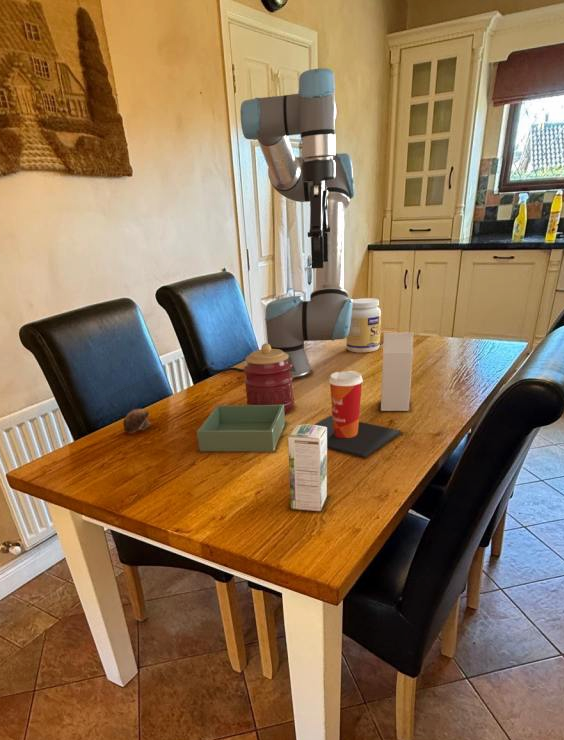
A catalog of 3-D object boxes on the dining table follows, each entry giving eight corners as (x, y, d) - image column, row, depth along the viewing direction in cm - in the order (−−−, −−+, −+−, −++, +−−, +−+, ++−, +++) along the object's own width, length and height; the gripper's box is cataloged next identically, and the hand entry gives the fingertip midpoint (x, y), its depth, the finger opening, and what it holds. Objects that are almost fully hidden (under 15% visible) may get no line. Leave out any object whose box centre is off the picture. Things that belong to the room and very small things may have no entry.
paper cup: (326, 429, 125) (325, 371, 117) (358, 425, 125) (359, 368, 118) (332, 441, 118) (332, 381, 111) (365, 438, 118) (367, 378, 111)
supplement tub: (371, 354, 182) (373, 304, 174) (340, 352, 188) (340, 303, 180) (385, 346, 191) (387, 297, 182) (355, 344, 197) (355, 297, 188)
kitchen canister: (301, 403, 144) (298, 338, 135) (282, 419, 134) (278, 350, 125) (260, 399, 149) (254, 337, 140) (239, 415, 139) (231, 348, 130)
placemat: (292, 438, 123) (292, 436, 122) (330, 417, 133) (330, 415, 132) (364, 457, 111) (364, 455, 110) (400, 433, 121) (400, 430, 120)
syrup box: (298, 494, 99) (294, 423, 92) (328, 496, 97) (327, 424, 90) (290, 509, 94) (286, 435, 87) (322, 512, 93) (320, 437, 85)
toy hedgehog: (161, 414, 134) (143, 398, 131) (149, 436, 130) (130, 419, 127) (145, 424, 139) (127, 408, 136) (132, 445, 135) (113, 430, 132)
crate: (199, 451, 120) (196, 431, 118) (219, 423, 135) (216, 405, 132) (273, 451, 117) (272, 431, 114) (285, 422, 132) (284, 404, 129)
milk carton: (408, 411, 132) (414, 335, 123) (380, 411, 134) (383, 336, 124) (408, 402, 138) (413, 329, 129) (381, 402, 140) (384, 330, 130)
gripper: (307, 164, 126) (310, 260, 137) (294, 158, 105) (298, 272, 116) (338, 161, 124) (338, 258, 135) (330, 154, 104) (332, 270, 114)
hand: (320, 265), depth 126 cm, fingers open, 13 cm apart
